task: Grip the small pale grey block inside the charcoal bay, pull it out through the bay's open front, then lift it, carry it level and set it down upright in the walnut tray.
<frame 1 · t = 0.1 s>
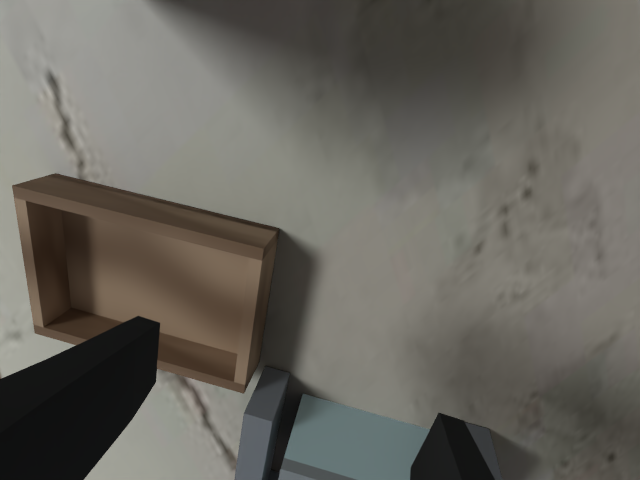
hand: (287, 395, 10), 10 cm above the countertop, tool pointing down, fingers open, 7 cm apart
walnut tray: (163, 272, 21), on the countertop
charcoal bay: (360, 438, 23), on the countertop
pale grey block: (356, 474, 21), in the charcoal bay
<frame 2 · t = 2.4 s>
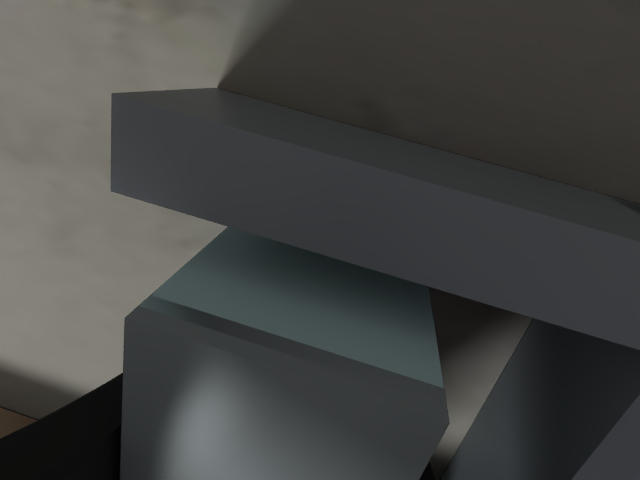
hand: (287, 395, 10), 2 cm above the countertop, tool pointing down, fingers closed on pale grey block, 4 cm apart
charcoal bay: (302, 354, 11), on the countertop
pale grey block: (277, 424, 9), in the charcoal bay, touching gripper
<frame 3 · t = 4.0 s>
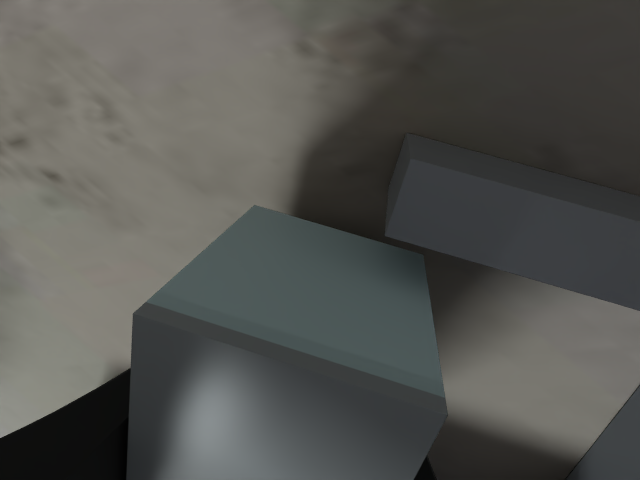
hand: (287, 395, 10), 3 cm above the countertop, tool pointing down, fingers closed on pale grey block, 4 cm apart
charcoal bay: (447, 366, 12), on the countertop
pale grey block: (280, 419, 9), point 4 cm above the countertop, touching gripper
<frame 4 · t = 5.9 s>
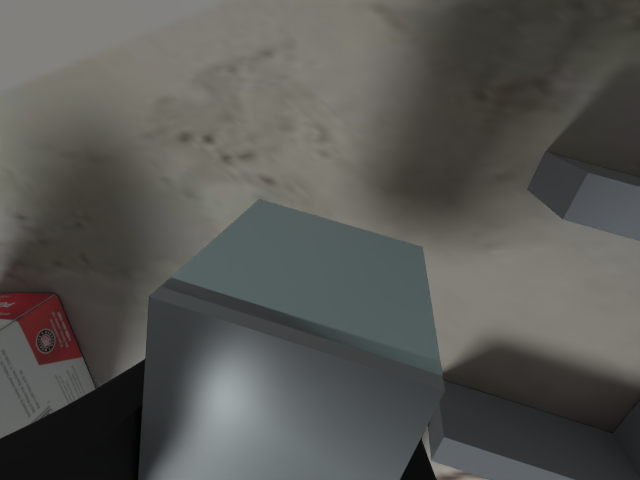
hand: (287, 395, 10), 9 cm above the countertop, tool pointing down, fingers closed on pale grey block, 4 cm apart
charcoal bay: (554, 318, 17), on the countertop
ink box: (53, 350, 24), on the countertop
pale grey block: (284, 405, 9), point 9 cm above the countertop, touching gripper
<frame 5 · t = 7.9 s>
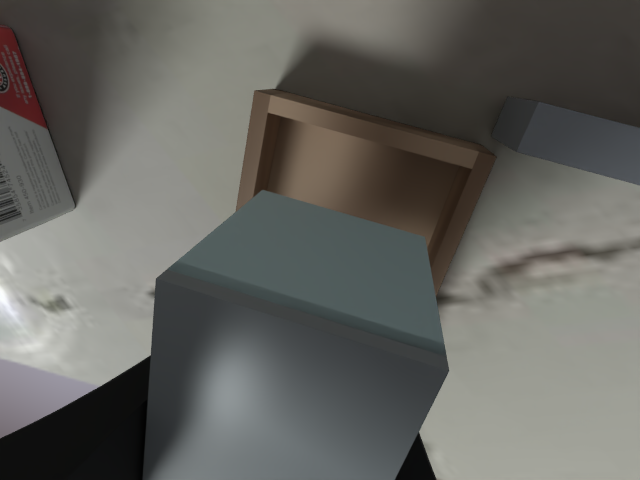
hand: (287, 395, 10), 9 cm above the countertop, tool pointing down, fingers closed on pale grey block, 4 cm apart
walnut tray: (338, 248, 18), on the countertop
ink box: (12, 130, 19), on the countertop
pale grey block: (287, 394, 9), point 9 cm above the countertop, touching gripper
when the fingers open (4 cm above the countertop, at t = 9.6 s): pale grey block stays where it is, resting on walnut tray.
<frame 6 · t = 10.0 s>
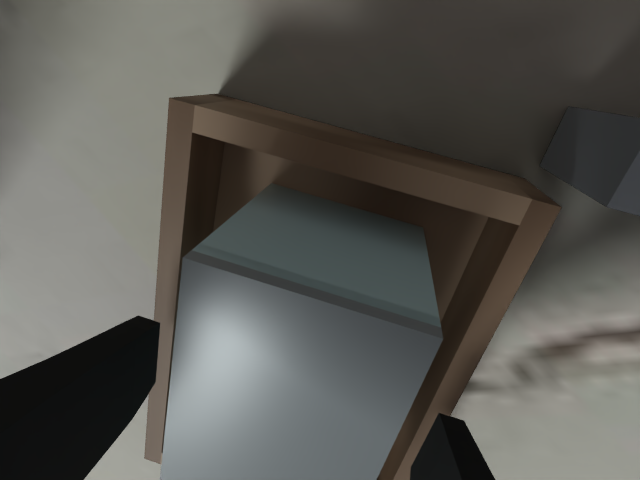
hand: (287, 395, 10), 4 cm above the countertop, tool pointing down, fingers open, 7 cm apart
walnut tray: (315, 315, 13), on the countertop
pale grey block: (295, 373, 10), in the walnut tray
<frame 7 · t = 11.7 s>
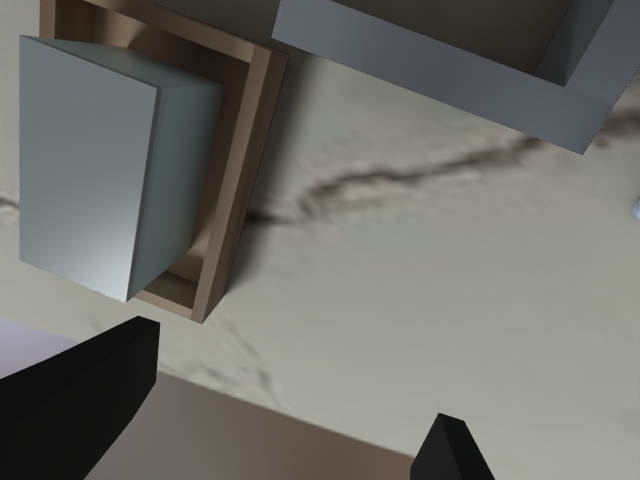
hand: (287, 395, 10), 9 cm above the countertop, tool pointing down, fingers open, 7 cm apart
walnut tray: (166, 160, 18), on the countertop
pale grey block: (126, 169, 15), in the walnut tray
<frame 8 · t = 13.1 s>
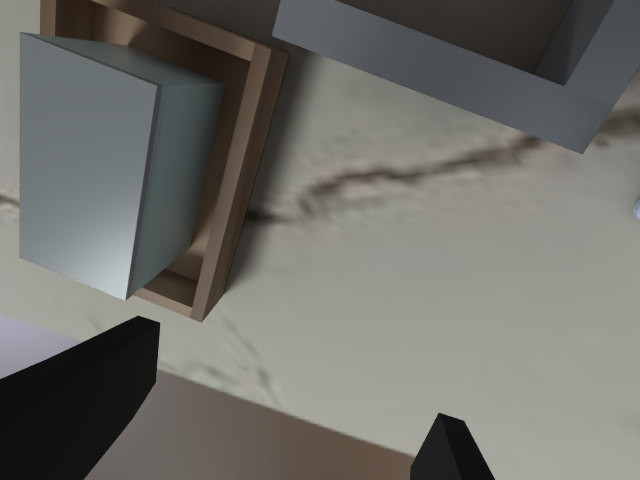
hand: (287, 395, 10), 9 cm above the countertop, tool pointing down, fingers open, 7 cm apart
walnut tray: (166, 158, 18), on the countertop
pale grey block: (126, 167, 15), in the walnut tray
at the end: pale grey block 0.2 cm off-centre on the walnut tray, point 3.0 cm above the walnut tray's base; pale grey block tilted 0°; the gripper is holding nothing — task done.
